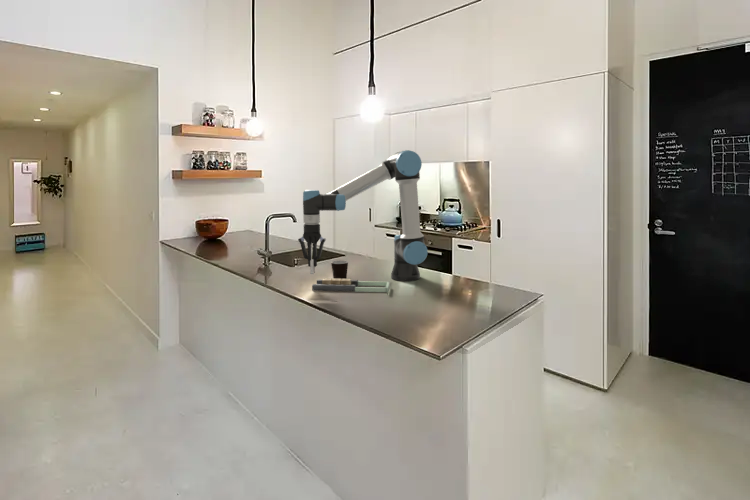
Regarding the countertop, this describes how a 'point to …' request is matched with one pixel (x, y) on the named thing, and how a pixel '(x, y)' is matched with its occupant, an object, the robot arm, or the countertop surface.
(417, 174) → the robot arm
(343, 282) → the beige cubic piece
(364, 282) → the tray
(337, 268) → the coffee mug
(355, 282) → the slot channel
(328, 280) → the tan cubic piece
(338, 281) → the tan wooden block
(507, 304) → the countertop surface
